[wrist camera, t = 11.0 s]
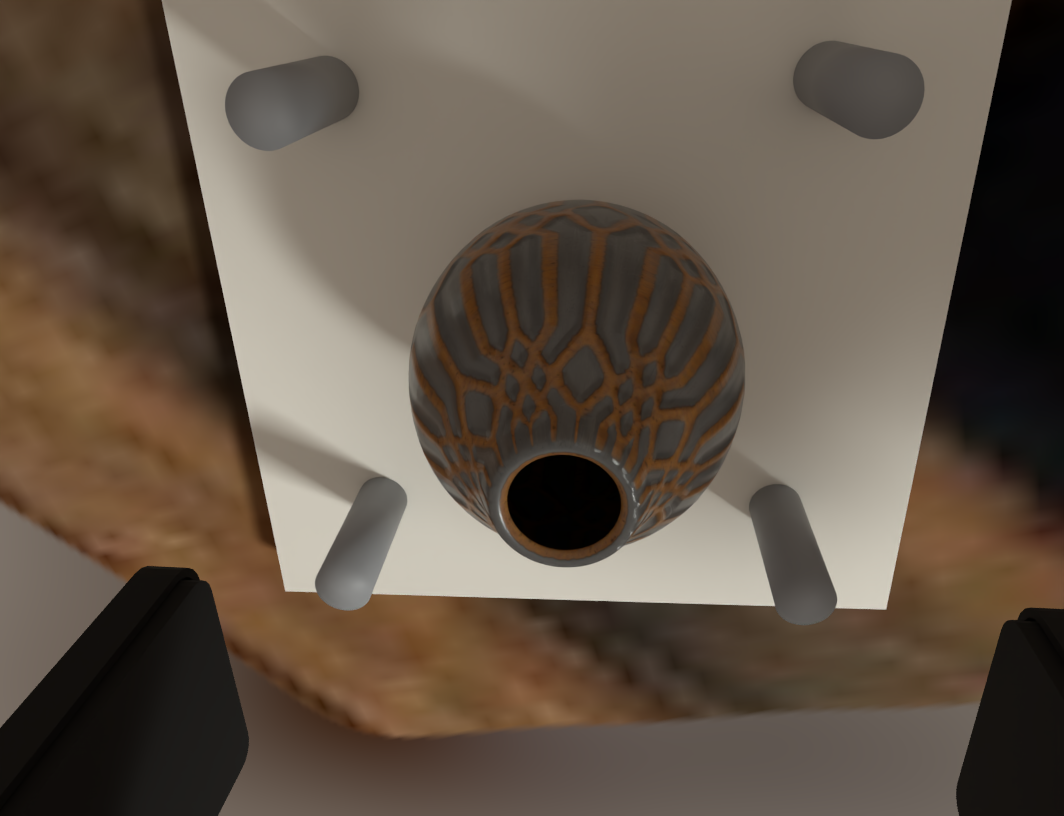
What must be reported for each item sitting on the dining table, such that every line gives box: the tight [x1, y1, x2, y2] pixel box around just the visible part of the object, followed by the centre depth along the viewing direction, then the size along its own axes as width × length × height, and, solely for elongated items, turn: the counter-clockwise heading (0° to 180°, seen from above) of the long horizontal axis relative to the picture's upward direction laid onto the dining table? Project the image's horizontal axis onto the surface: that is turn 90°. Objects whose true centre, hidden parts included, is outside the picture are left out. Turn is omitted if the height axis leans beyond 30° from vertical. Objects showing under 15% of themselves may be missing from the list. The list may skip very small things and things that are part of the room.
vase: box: [409, 200, 745, 567], centre depth 17 cm, size 7×7×9 cm
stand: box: [162, 0, 1012, 625], centre depth 19 cm, size 18×18×6 cm
